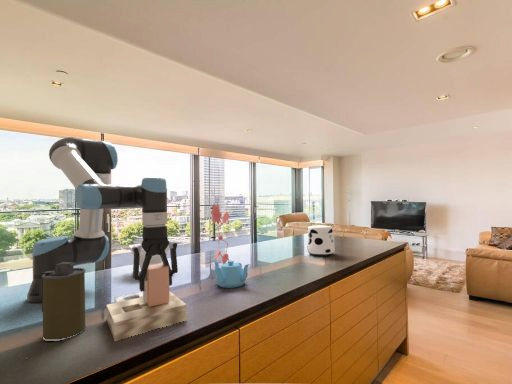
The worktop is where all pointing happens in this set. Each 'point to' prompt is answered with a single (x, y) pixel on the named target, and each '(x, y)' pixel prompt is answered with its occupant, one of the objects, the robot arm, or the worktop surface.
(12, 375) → the worktop surface
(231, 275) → the teapot
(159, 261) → the bowl
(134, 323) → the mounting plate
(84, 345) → the worktop surface
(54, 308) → the canister
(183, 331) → the worktop surface
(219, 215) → the pink leafy branch
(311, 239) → the milk container
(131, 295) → the frame
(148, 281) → the stud block
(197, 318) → the worktop surface
